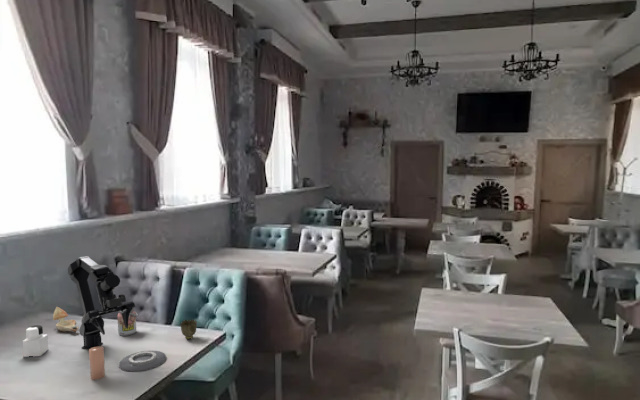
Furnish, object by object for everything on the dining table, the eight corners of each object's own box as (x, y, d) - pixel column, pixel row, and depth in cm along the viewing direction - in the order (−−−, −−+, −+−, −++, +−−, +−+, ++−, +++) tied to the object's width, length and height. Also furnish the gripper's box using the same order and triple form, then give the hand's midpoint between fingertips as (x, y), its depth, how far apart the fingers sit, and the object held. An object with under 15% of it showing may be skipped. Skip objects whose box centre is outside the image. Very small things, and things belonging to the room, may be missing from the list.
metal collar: (123, 364, 180) (123, 361, 179) (138, 353, 190) (138, 350, 190) (147, 366, 178) (147, 363, 178) (161, 354, 188) (161, 352, 188)
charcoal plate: (109, 370, 177) (109, 368, 177) (135, 351, 194) (135, 349, 194) (151, 372, 174) (150, 370, 173) (173, 353, 191) (173, 351, 191)
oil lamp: (67, 323, 232) (65, 304, 231) (85, 332, 219) (84, 312, 218) (48, 328, 225) (47, 308, 225) (66, 337, 212) (65, 317, 211)
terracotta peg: (87, 379, 169) (85, 351, 169) (96, 373, 174) (94, 345, 173) (99, 380, 169) (97, 352, 168) (107, 373, 174) (106, 346, 173)
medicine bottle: (32, 350, 198) (30, 324, 197) (48, 349, 198) (47, 323, 197) (22, 357, 191) (20, 330, 190) (40, 356, 191) (38, 329, 190)
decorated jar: (137, 328, 222) (136, 304, 221) (140, 333, 215) (139, 309, 214) (117, 332, 217) (116, 308, 217) (119, 337, 210) (118, 313, 209)
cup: (192, 342, 203) (191, 325, 203) (178, 341, 205) (177, 324, 204) (200, 335, 211) (199, 319, 210) (186, 335, 212) (185, 318, 211)
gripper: (88, 294, 174) (98, 332, 170) (135, 284, 188) (145, 319, 184) (80, 302, 181) (89, 340, 177) (125, 292, 195) (135, 326, 191)
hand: (115, 331), depth 182 cm, fingers open, 9 cm apart
